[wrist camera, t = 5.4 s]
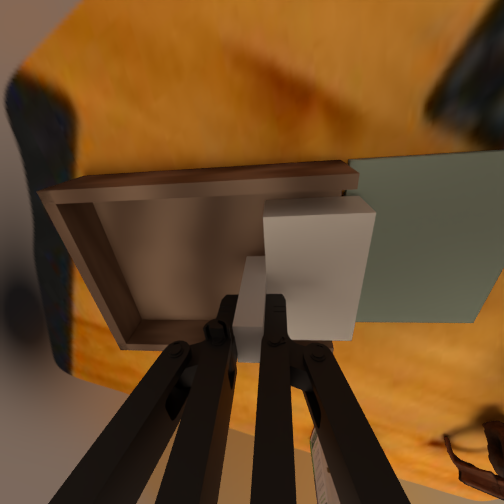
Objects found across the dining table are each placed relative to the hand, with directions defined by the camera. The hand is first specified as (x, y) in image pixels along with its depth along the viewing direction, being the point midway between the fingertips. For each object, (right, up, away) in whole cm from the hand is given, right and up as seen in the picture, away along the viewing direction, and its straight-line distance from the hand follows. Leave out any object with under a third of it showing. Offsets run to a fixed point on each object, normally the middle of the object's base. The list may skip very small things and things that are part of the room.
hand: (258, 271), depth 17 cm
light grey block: (+4, +1, 0) cm, 4 cm away
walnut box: (-3, +1, +2) cm, 4 cm away
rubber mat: (+12, +2, 0) cm, 12 cm away
